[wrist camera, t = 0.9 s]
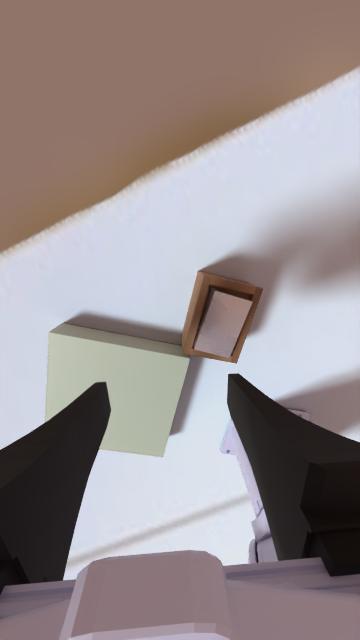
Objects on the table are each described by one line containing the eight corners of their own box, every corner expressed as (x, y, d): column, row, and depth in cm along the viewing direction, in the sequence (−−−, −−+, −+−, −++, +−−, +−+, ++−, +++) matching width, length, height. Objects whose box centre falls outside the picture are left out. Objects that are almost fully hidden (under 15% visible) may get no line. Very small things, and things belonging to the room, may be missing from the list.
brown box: (245, 282, 21) (263, 289, 17) (225, 344, 23) (236, 363, 19) (197, 270, 20) (204, 275, 16) (181, 335, 22) (183, 353, 18)
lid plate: (245, 297, 18) (252, 301, 16) (225, 350, 19) (229, 358, 18) (211, 287, 17) (214, 290, 16) (192, 341, 19) (194, 349, 17)
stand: (188, 347, 22) (190, 358, 20) (163, 438, 26) (162, 457, 24) (62, 323, 21) (48, 332, 18) (56, 423, 25) (44, 442, 22)
